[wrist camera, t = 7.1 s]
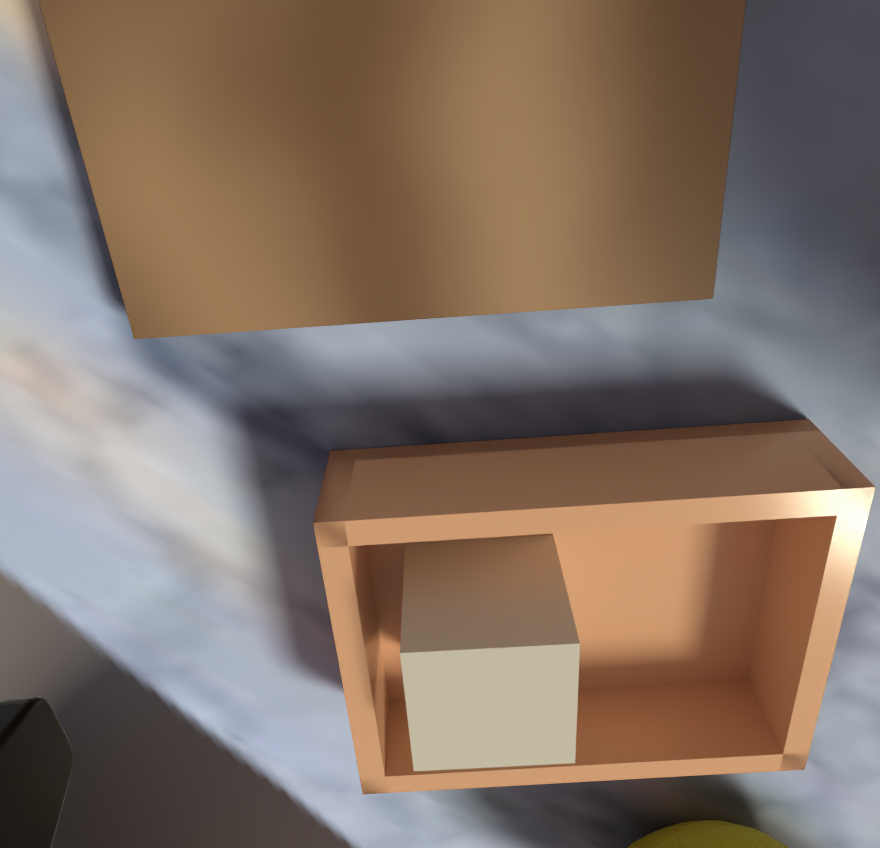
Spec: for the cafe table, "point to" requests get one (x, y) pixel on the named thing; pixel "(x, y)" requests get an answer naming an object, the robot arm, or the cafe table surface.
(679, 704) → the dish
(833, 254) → the cafe table surface
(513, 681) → the cream cube
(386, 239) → the board
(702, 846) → the lemon
